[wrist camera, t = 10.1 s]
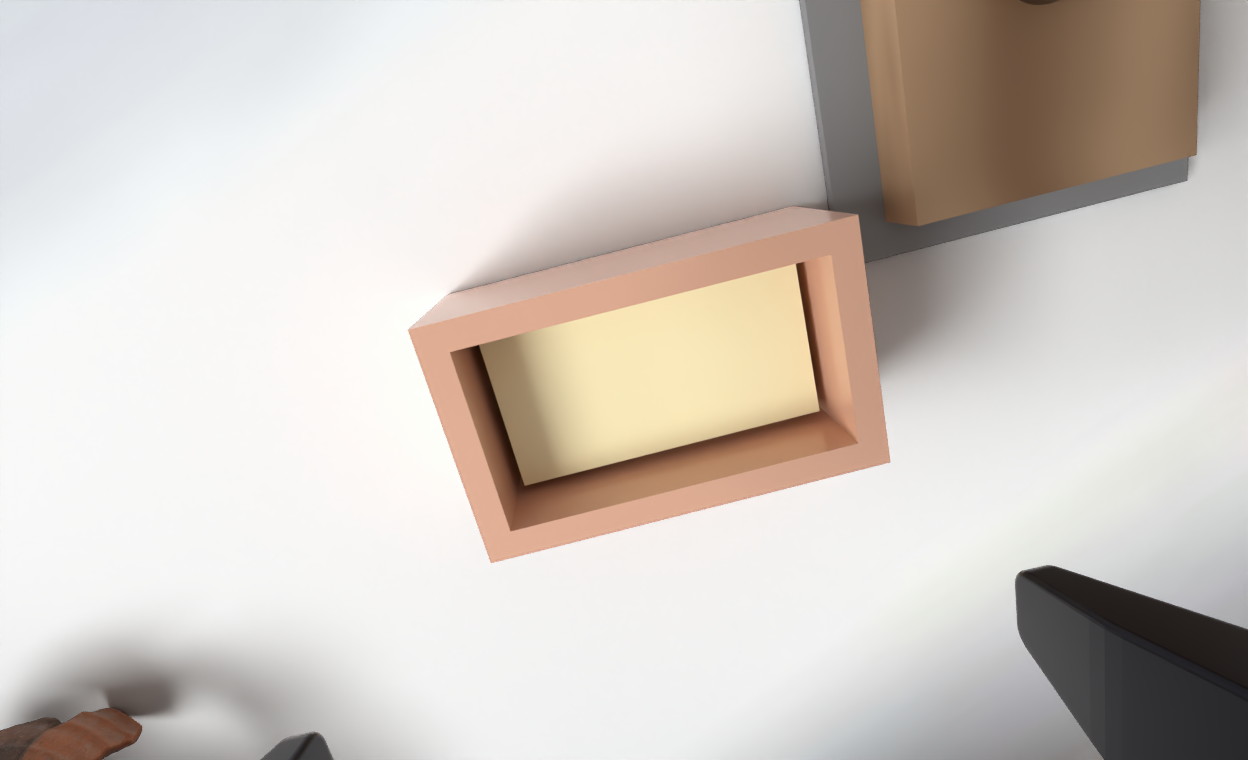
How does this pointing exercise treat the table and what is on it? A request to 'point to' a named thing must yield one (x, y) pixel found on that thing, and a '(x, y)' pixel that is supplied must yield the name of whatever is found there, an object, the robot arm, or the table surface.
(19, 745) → the dark brown looped piece
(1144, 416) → the table surface
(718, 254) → the dish
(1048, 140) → the lid
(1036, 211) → the mat
